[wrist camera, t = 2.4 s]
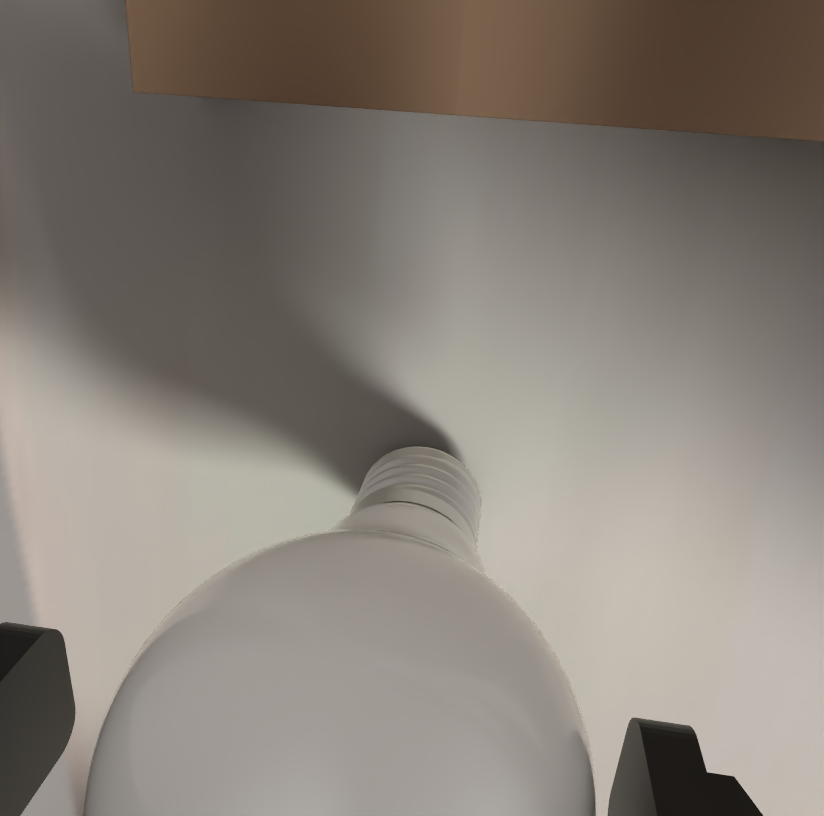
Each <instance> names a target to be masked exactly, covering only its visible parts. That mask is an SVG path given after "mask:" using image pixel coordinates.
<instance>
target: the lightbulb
mask: <svg viewBox="0 0 824 816" xmlns="http://www.w3.org/2000/svg"><path fill="white" fill-rule="evenodd" d="M480 516H481V495H480V490H479V487H478V485H477V482H476V480H475V478H474V477H473V475H472V474H471V473H470V471H469V470H468V469H467V468H466V467H465V466H464V465H463V464H462V463H461V462H460V461H458V460H457V459H456V458H454V457H453V456H451V455H449V454H447V453H445V452H443V451H440V450H437V449H434V448H429V447H419V446H415V447H405V448H401V449H397V450H394V451H392V452H390V453H388V454H386V455H384V456H383V457H382V458H380V459H379V460H378V461H377V462H375V463H374V464H373V466H372V467H371V468H370V470H369V471H368V473H367V474H366V477H365V479H364V481H363V484H362V486H361V489H360V491H359V494H358V496H357V498H356V500H355V503H354V505H353V507H352V509H351V512H350V515H348V516H347V517H345V518H344V519H342V520H341V521H339V522H338V523H337V524H336V525H334V526H333V527H332V528H331V529H330V530H329V531H328V532H321V533H315V534H309V535H305V536H300V537H296V538H293V539H289V540H286V541H282V542H279V543H276V544H273V545H271V546H268V547H266V548H263V549H261V550H258V551H256V552H254V553H252V554H249V555H247V556H245V557H243V558H242V559H240V560H238V561H236V562H234V563H232V564H231V565H229V566H227V567H226V568H224V569H222V570H221V571H219V572H218V573H216V574H215V575H213V576H212V577H210V578H209V579H208V580H206V581H205V582H204V583H202V584H201V585H200V586H198V587H197V588H196V589H195V590H194V591H192V592H191V593H190V594H189V595H188V596H187V597H185V598H184V599H183V600H182V601H181V602H180V603H179V604H178V605H177V606H176V607H175V608H174V609H173V610H172V611H171V612H170V613H169V614H168V615H167V616H166V617H165V618H164V620H163V621H162V622H161V623H160V624H159V625H158V627H157V628H156V629H155V630H154V631H153V633H152V634H151V635H150V636H149V638H148V639H147V640H146V642H145V643H144V644H143V646H142V647H141V649H140V650H139V652H138V653H137V655H136V656H135V658H134V659H133V661H132V663H131V664H130V666H129V668H128V669H127V671H126V673H125V675H124V676H123V678H122V680H121V682H120V684H119V686H118V688H117V690H116V692H115V694H114V696H113V698H112V701H111V703H110V705H109V708H108V710H107V713H106V715H105V718H104V720H103V723H102V726H101V729H100V732H99V735H98V738H97V741H96V745H95V748H94V752H93V756H92V760H91V764H90V769H89V774H88V780H87V786H86V792H85V800H84V811H83V816H596V793H595V779H594V771H593V763H592V756H591V751H590V746H589V741H588V736H587V732H586V728H585V725H584V721H583V717H582V714H581V711H580V708H579V705H578V702H577V699H576V697H575V694H574V692H573V689H572V687H571V684H570V682H569V680H568V678H567V676H566V674H565V671H564V669H563V667H562V666H561V664H560V662H559V660H558V658H557V656H556V655H555V653H554V651H553V650H552V648H551V646H550V645H549V643H548V642H547V640H546V639H545V637H544V636H543V634H542V633H541V631H540V630H539V629H538V627H537V626H536V625H535V623H534V622H533V621H532V620H531V618H530V617H529V616H528V615H527V614H526V612H525V611H524V610H523V609H522V608H521V607H520V606H519V605H518V604H517V602H516V601H515V600H514V599H513V598H512V597H511V596H510V595H509V594H507V593H506V592H505V591H504V590H503V589H502V588H501V587H500V586H499V585H498V584H496V583H495V582H494V581H493V580H492V579H490V578H489V577H488V576H487V575H486V571H485V568H484V565H483V563H482V560H481V558H480V556H479V554H478V552H477V541H478V531H479V521H480Z"/></svg>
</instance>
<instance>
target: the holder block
mask: <svg viewBox="0 0 824 816" xmlns="http://www.w3.org/2000/svg"><path fill="white" fill-rule="evenodd" d="M125 2H126V13H127V25H128V37H129V49H130V60H131V72H132V84H133V92H141V93H155V94H169V95H183V96H197V97H211V98H224V99H238V100H252V101H266V102H280V103H294V104H308V105H322V106H336V107H350V108H364V109H378V110H392V111H406V112H420V113H434V114H448V115H462V116H476V117H490V118H504V119H518V120H532V121H546V122H560V123H574V124H588V125H602V126H616V127H630V128H643V129H657V130H671V131H685V132H699V133H713V134H727V135H741V136H755V137H769V138H783V139H797V140H811V141H824V0H125Z"/></svg>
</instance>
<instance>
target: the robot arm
mask: <svg viewBox="0 0 824 816" xmlns="http://www.w3.org/2000/svg"><path fill="white" fill-rule="evenodd" d="M74 721H75V702H74V696H73V690H72V684H71V678H70V672H69V666H68V660H67V654H66V648H65V642H64V638H63V636H62V634H61V632H60V631H58V630H56V629H49V628H43V627H36V626H29V625H22V624H16V623H8V622H5V623H1V624H0V816H20V815H21V814H22V812H23V811H24V809H25V808H26V806H27V805H28V803H29V802H30V800H31V799H32V797H33V796H34V794H35V793H36V791H37V790H38V789H39V787H40V786H41V784H42V783H43V781H44V780H45V778H46V777H47V775H48V774H49V772H50V771H51V769H52V768H53V767H54V765H55V764H56V762H57V761H58V759H59V758H60V756H61V755H62V753H63V751H64V750H65V748H66V746H67V743H68V741H69V739H70V736H71V733H72V729H73V726H74ZM608 816H763V815H762V813H761V812H760V811H759V809H758V808H757V807H756V805H755V804H754V803H753V801H752V800H751V799H750V797H749V796H748V795H747V793H746V792H745V791H744V789H743V788H742V787H741V785H740V784H739V783H738V781H737V780H736V779H735V777H733V776H727V775H720V774H714V773H707V771H706V768H705V764H704V761H703V757H702V753H701V750H700V746H699V743H698V739H697V736H696V734H695V732H694V730H693V728H692V727H691V726H687V725H680V724H674V723H667V722H660V721H653V720H647V719H640V718H632V719H631V720H630V722H629V724H628V728H627V732H626V735H625V739H624V743H623V747H622V751H621V755H620V759H619V763H618V766H617V770H616V774H615V778H614V782H613V786H612V790H611V794H610V799H609V807H608Z"/></svg>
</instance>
